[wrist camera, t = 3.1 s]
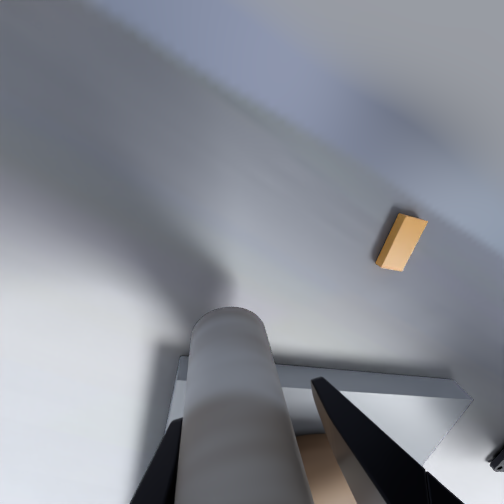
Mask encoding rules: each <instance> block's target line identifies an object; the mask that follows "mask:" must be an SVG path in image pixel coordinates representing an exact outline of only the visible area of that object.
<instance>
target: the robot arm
mask: <svg viewBox="0 0 504 504" xmlns="http://www.w3.org/2000/svg"><path fill="white" fill-rule="evenodd" d="M310 382H311V388H312V394H313V399H314V402H315V405H316V408H317V410H318V413H319V416H320V419H321V421H322V424H323V427H324V430H325V432H326V435H327V438H328V441H329V443H330V446H331V449H332V451H333V454H334V456H335V458H336V460H337V463H338V465H339V467H340V469H341V471H342V473H343V475H344V477H345V479H346V481H347V484H348V486H349V488H350V490H351V492H352V494H353V496H354V498H355V500H356V502H357V504H464V503H463V502H462V501H461V500H460V499H458V498H457V497H456V496H455V495H454V494H453V493H452V492H450V491H449V490H448V489H447V488H446V487H445V486H443V485H442V484H441V483H440V482H439V481H438V480H437V479H436V478H435V477H434V476H432V475H431V474H430V473H429V472H425V469H424V468H423V467H422V466H421V465H420V464H419V463H418V462H417V461H416V460H415V459H413V458H412V457H411V456H410V455H409V454H408V453H407V452H406V451H405V450H404V449H402V448H401V447H400V446H399V445H398V444H397V443H396V442H395V441H394V440H393V439H391V438H390V437H389V436H388V435H387V434H386V433H385V432H384V431H383V430H381V429H380V428H379V427H378V426H377V425H376V424H375V423H374V422H373V421H372V420H370V419H369V418H368V417H367V416H366V415H365V414H364V413H363V412H362V411H361V410H359V409H358V408H357V407H356V406H355V405H354V404H353V403H352V402H351V401H349V400H348V399H347V398H346V397H345V396H344V395H343V394H342V393H341V392H340V391H338V390H337V389H336V388H335V387H334V386H333V385H332V384H331V383H330V382H329V381H327V380H326V379H325V378H324V377H322V376H319V377H316V378H312V379H311V381H310ZM182 421H183V417H181V418H178V419H174V420H172V421H171V423H170V424H169V426H168V428H167V430H166V432H165V434H164V436H163V438H162V440H161V442H160V444H159V446H158V448H157V450H156V452H155V454H154V456H153V458H152V460H151V462H150V464H149V466H148V468H147V470H146V472H145V474H144V476H143V478H142V480H141V482H140V484H139V486H138V488H137V490H136V492H135V494H134V496H133V498H132V500H131V502H130V504H174V501H175V491H176V481H177V471H178V461H179V451H180V441H181V431H182ZM490 466H491V467H492V469H493V470H494V471H496V472H504V449H503V450H502V451H501V453H500V454H499V455H498V456H497V457H496V458H495V459H494V460H493V461H492V462H491V463H490Z"/></svg>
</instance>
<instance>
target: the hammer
mask: <svg viewBox="0 0 504 504" xmlns="http://www.w3.org/2000/svg"><path fill="white" fill-rule="evenodd" d="M174 504H357V502H356V500H355V498H354V496H353V494H352V492H351V490H350V488H349V486H348V484H347V481H346V479H345V477H344V475H343V473H342V471H341V469H340V467H339V465H338V463H337V460H336V458H335V456H334V454H333V451H332V449H331V446H330V443H329V441H328V438H327V435H326V433H324V434H309V435H301V436H297V437H295V433H294V430H293V426H292V422H291V419H290V415H289V412H288V408H287V405H286V401H285V398H284V394H283V391H282V387H281V383H280V380H279V376H278V373H277V369H276V366H275V362H274V359H273V355H272V352H271V348H270V344H269V341H268V337H267V334H266V330H265V327H264V324H263V322H262V321H261V319H260V318H259V317H258V316H257V315H256V314H254V313H253V312H251V311H249V310H247V309H244V308H239V307H224V308H219V309H216V310H213V311H211V312H209V313H207V314H206V315H204V316H203V317H202V318H201V319H200V320H199V321H198V322H197V323H196V325H195V326H194V328H193V330H192V334H191V342H190V352H189V362H188V372H187V382H186V391H185V401H184V411H183V421H182V431H181V441H180V451H179V461H178V471H177V481H176V491H175V501H174Z"/></svg>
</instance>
